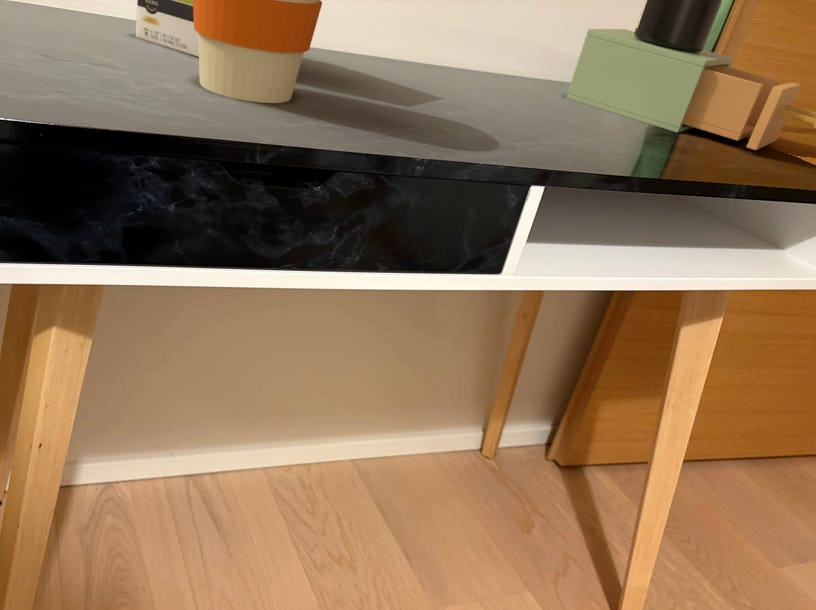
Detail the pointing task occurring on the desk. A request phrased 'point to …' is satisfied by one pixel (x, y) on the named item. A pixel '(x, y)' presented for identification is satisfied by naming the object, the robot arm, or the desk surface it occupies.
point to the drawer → (744, 105)
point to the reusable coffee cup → (253, 46)
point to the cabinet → (639, 77)
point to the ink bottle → (677, 23)
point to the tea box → (168, 24)
